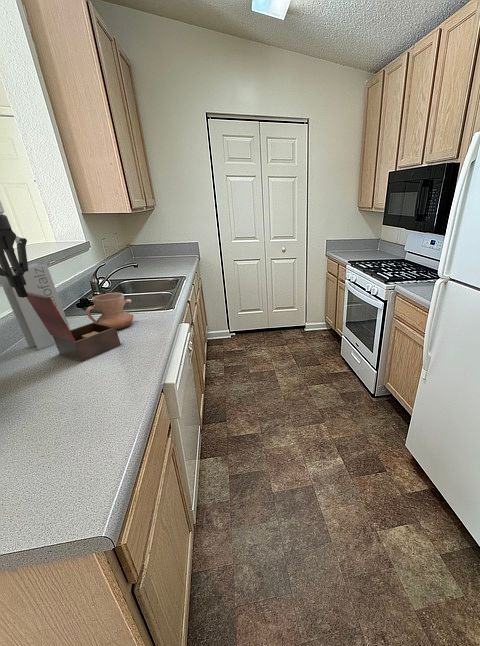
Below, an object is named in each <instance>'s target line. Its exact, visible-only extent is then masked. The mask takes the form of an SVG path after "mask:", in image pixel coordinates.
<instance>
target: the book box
mask: <svg viewBox="0 0 480 646" xmlns="http://www.w3.org/2000/svg"><path fill="white" fill-rule="evenodd" d="M94 331H95V332H98V333H97V334H95V335H92V336H89V337H87V338H84V339H83V338H82V336H83V335H85V334H88V333H91V332H94ZM70 332H71V333H72V335H73V337H74V338H75V341H74V342H72V341H69V340H65V339H62V338H58V337H55V336H53V338H54V341H55V346H56V348H57V350H58V353H59V355H61V356H64V357H67V358H69V359H73V360H76V361H79V362H84V361H87V360H89V359H91V358H93V357H96V356H99V355H101V354H103V353H106V352H108V351H110V350H112V349H115V348H117V347H119V346H122V344H121V340H120V337H119V334H118V330H116V327H112V326H107V325H103V324H99V323H95V322H93V321H92V322H90V323H88V324H84V325H81V326H78V327H75V328H73V329H70Z"/></svg>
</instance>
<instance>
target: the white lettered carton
mask: <svg viewBox="0 0 480 646" xmlns="http://www.w3.org/2000/svg"><path fill="white" fill-rule="evenodd" d="M10 268H11V271H12V273H13V275H16V274H15V273H14V271H13V269H12V267H10ZM23 276H24V279H25V281H26V285H24V287H25V290H26V292H28V293H33V294H38V295H43V296H48V297H50V298H51V300H52V302H53V303H54V305H55V307H56V308H57V310H58V312H59V313H60V315H61V317H62V318H63V320H64V322H65V323H66V325H67V327H68V328H69V330H71V327H70V325H69V322H68V318H67V317H66V314H65V311H64V308H63V305H62V303H61V300H60V297H59V295H58V292H57V289H56V286H55V283H54V279H53V277H52V274H51V272H50V270H49V267H48V264H47V263H45V264H38V263H37V262H36V263H31V264H28V271H27V272H25V273H24V275H23ZM0 285H1V287H2V289H3V291H4V294H5V296H6V298H7V301H8V303H9V306H10V308H11V310H12V313H13V314H14V317H15V319H16V321H17V324H18V326H19V328H20V331H21V333H22V335H23V338H24V340H25V342H26V344H27V347H28V349H31V348H34V347H36V350H38V351H39V350H42V349H45V348H47V347H50V346H52V345H56V343H55V341H54V338H53V336H52V335H50V333H49V332H48V330H47V329H46V327H45V326H44V324H43V322H42V321H41V319H40V318H39V316H38V315H37V313H36V311H35V310H34V308H33V307H32V305H31V304H30V302H29V301H28V299H27V297H24V298H22V297H18V295H17V292H16V290H15V288H13V287H11V286H10V285H9V282H8V280H7V278H6V277H5V276H0Z"/></svg>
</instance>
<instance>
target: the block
mask: <svg viewBox="0 0 480 646" xmlns="http://www.w3.org/2000/svg"><path fill="white" fill-rule="evenodd" d="M97 333H98V332H95V331H94V332H91V333H88V334H85V335H83V336H82V338H83V339H84V338H87V337H89V336H92V335H95V334H97Z"/></svg>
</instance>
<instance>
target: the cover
mask: <svg viewBox="0 0 480 646" xmlns="http://www.w3.org/2000/svg"><path fill="white" fill-rule="evenodd" d="M27 295H28V297H27V299H28V301H29V302H30V304H31V305H32V307H33V308H34V310H35V311H36V313H37V315H38V316H39V318H40V319H41V321H42V322H43V324H44V326H45V327H46V329H47V330H48V332H49V333H50V335H52V336H55V337H58V338H62V339H65V340H69V341H72V342H74V341H75V338H74V337H73V335H72V333H71V332H70V330H71V329H70V330H69V328H68V327H67V325H66V323H65V322H64V320H63V318H62V317H61V315H60V313H59V312H58V310H57V308H56V307H55V305H54V303H53V302H52V300H51V298H50V297H48V296H43V295H38V294H33V293H28V292H27Z"/></svg>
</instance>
